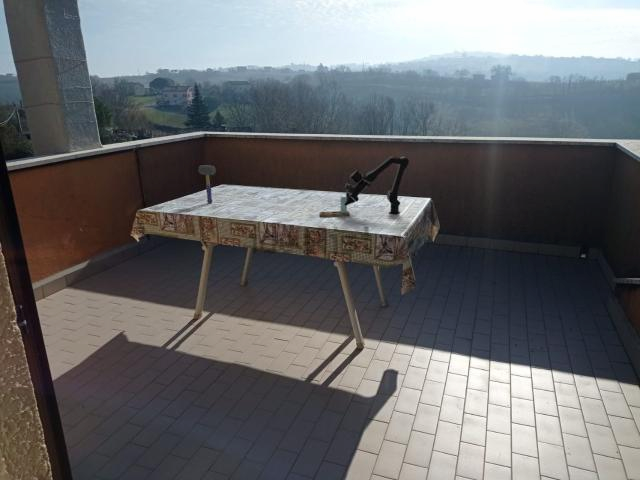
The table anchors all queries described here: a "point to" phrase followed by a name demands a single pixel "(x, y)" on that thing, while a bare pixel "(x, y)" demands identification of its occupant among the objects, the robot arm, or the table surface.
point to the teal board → (343, 201)
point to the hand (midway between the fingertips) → (343, 203)
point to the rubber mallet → (207, 178)
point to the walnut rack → (334, 214)
